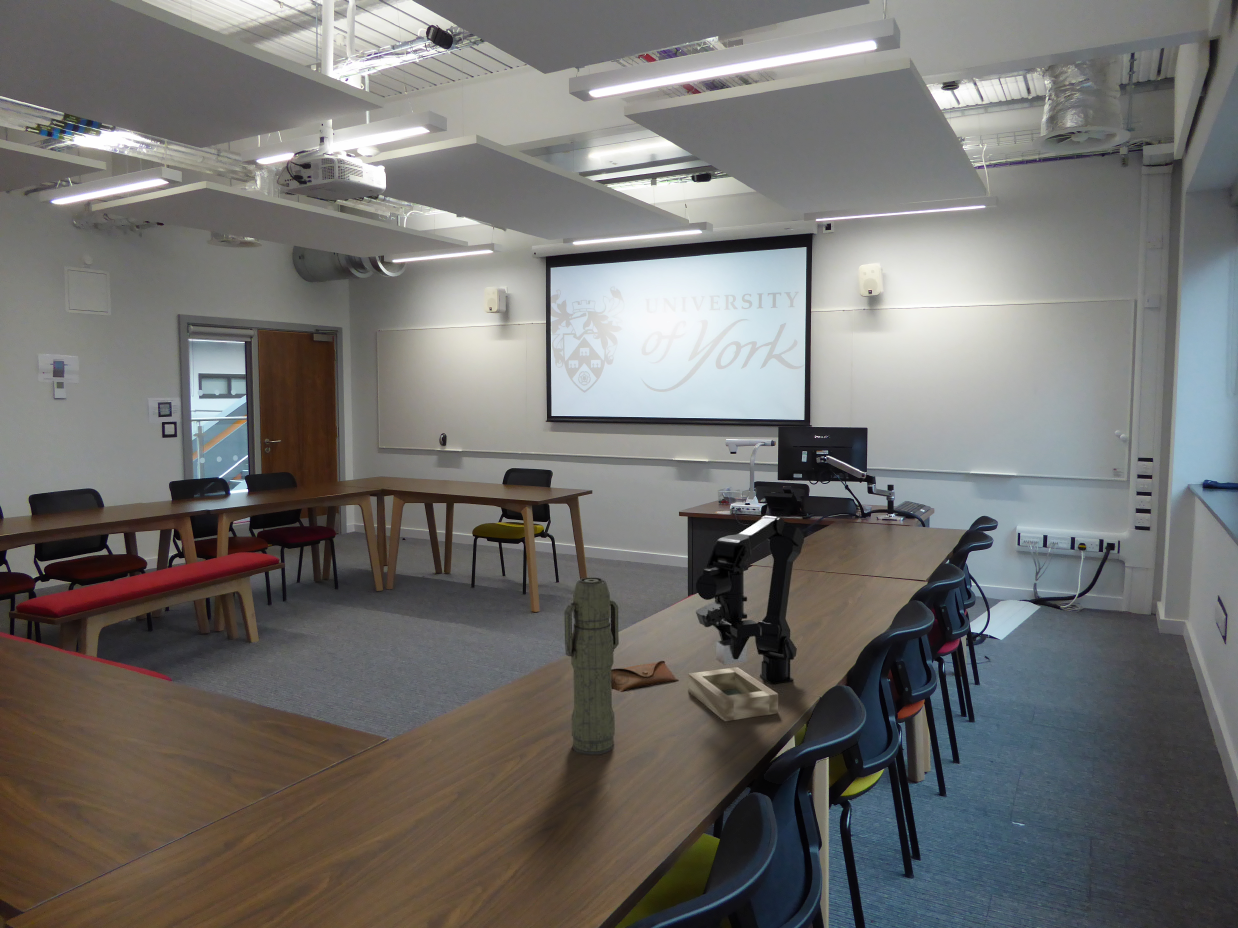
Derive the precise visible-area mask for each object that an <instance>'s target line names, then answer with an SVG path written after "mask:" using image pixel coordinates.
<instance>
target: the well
mask: <svg viewBox="0 0 1238 928" xmlns="http://www.w3.org/2000/svg"><path fill="white" fill-rule="evenodd" d="M687 678H688V681H687V683H688V687H687V688H688V689H687V691H688V692H689V694H691V695H692V696H693V697H694V698H696V699H697V700H698V701H700V703H702V704H703V705H704V706H706V708H708V709H709V710H710V711H711V712H713V713H714V714H715V715H716V716H718V717H719V718H720V719H721V720H723V721H724V722H729V721H736V720H741V719H748V718H756V717H760V716H761V717H762V716H768V715H776V714H779V694H778V692H776V691H774V690H773V689H771V688H770V687H768V686H766V685H765V684H763V682H761V681H759V680H758V679H757V678H754V677H753V676H751V674H748V673H747V672H745V671H744V670H742V669H741V668H739V667H738V666H737V667H730V668H720V669H713V670H712V669H711V670H707V671H699V672H690V673H689V672H688V674H687Z"/></svg>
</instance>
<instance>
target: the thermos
mask: <svg viewBox="0 0 1238 928" xmlns="http://www.w3.org/2000/svg"><path fill="white" fill-rule="evenodd" d="M607 583H608V582H607V581H606V580H604V579H603V578H600V577H584V578H581V579H580V580H577V581H576V583H575V587H574V589H573V593H572V596H573V597H572V600H573V602H571V603H570V604H568V605H567V606H566V608H565V610H564V614H563V615H564V649H565V655H566V656H568V657H570V664H571V666H572V669H573V709H572V713H571V737H572V748H573V750H574V751H575V752H577V753H579V754H582V755H591V756H593V755H594V756H595V755H602V754H606V753H609V752H610V751H612V750H613V749H614V747H615V740H614V739H615V738H614V737H615V734H616V733H615V730H616V729H615V726H616V725H615V724H616V723H615V712H614V708H613V706H612V705H613V703H612V702H613V701H612V693H613V692H612V689H613V687H611V669H613V668H612V667H613V665H614V652H615V650H616V649H617V647H618V646H619V640H620V639H619V606H618V604H617V602H616V601H614V600H613V599H611V593H610V590H609V585H608V584H607ZM573 619H574V623H573Z"/></svg>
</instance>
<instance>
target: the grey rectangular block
mask: <svg viewBox="0 0 1238 928" xmlns="http://www.w3.org/2000/svg"><path fill="white" fill-rule="evenodd" d="M747 645H748V643H746V644H745V646H744V648H743V650H742V652H741V654H740V656H739V658H738V659H736V660H735V659H733V653H732V644H731V639H730V640H722V641H721V640H715V646H716V647H715V649H716V650H715V652H716V653H715V654H716V655H715V660H717V662H719V663H721V664H722V665H724V666H725V665H731V664H732V665H733V664H740V663H741V664H742V663H747V662H748V653H747V652H748V651H747V650H748V648H747V647H748V646H747Z"/></svg>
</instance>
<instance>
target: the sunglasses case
mask: <svg viewBox="0 0 1238 928" xmlns="http://www.w3.org/2000/svg"><path fill="white" fill-rule="evenodd" d="M672 682H679V679H678V678H676V677H675V675H674V674H673V672H672V671H671V670H670V668H669V667H668V665H667V664H666V661H664V660H660V661H656V662H651V663H645V664H640V665H639V664H638V665H633V666H627V667H622V668H617V667H616V668H611V688H612V689H615V690H616V691H618V692H620V693H622V692H627V691H630V690H634V689H639V688H645V687H649V686H655V685H656V686H657V685H659V684H667V683H672Z"/></svg>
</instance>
